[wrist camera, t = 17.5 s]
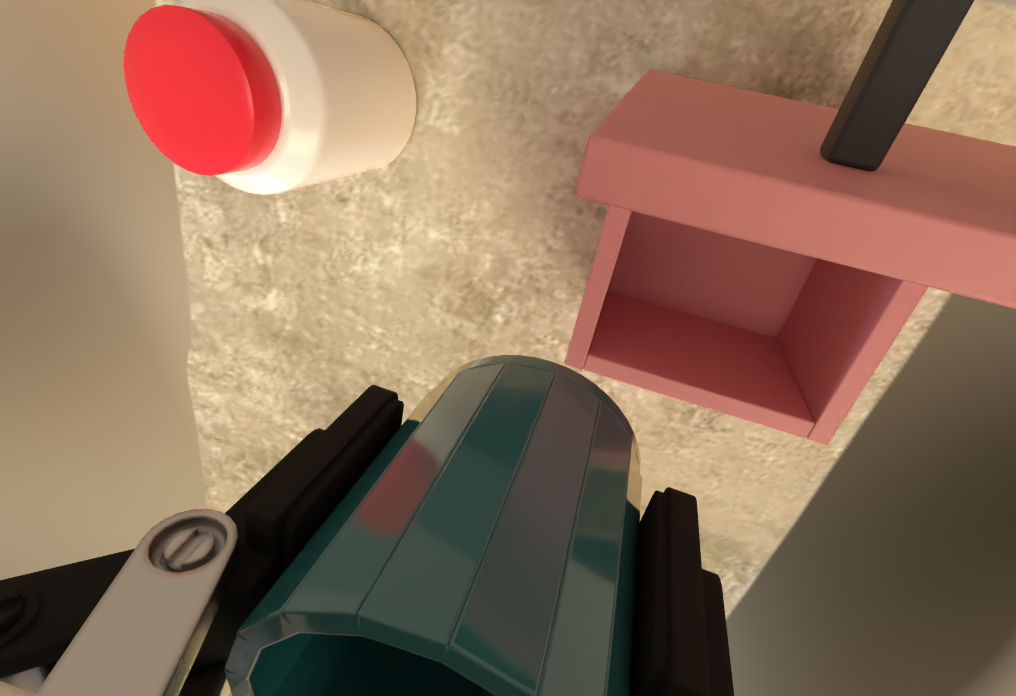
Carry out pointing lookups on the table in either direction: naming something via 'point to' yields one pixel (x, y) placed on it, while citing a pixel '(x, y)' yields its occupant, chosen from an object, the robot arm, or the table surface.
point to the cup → (468, 553)
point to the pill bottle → (269, 91)
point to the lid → (823, 166)
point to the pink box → (735, 323)
